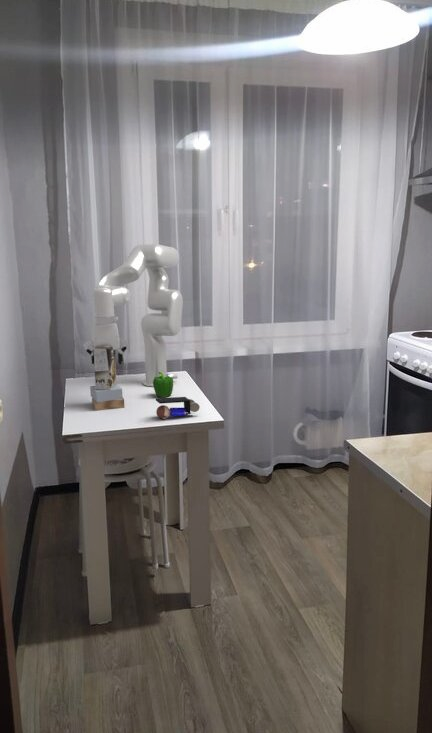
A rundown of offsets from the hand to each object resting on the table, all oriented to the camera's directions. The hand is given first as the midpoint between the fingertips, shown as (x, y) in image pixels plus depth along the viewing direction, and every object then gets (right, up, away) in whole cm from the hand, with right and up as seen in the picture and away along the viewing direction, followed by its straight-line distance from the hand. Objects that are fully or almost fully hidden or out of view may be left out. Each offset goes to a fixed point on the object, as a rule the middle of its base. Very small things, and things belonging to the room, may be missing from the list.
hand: (107, 364), depth 225 cm
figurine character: (+28, -19, -13) cm, 37 cm away
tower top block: (-1, -13, +1) cm, 13 cm away
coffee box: (-1, -9, +1) cm, 9 cm away
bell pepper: (+21, -13, +15) cm, 29 cm away
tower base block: (0, -17, +2) cm, 17 cm away
